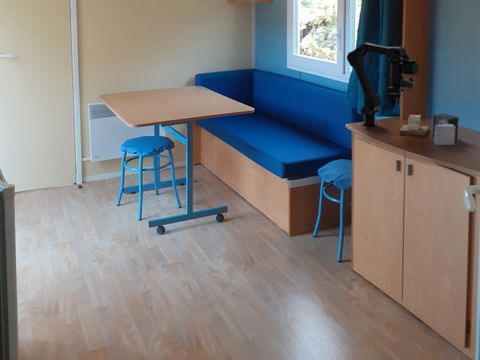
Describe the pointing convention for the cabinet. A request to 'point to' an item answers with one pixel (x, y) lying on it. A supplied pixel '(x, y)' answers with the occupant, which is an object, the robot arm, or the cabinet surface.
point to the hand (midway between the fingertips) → (395, 105)
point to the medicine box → (444, 134)
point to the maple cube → (414, 122)
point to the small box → (445, 121)
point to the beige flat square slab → (413, 131)
